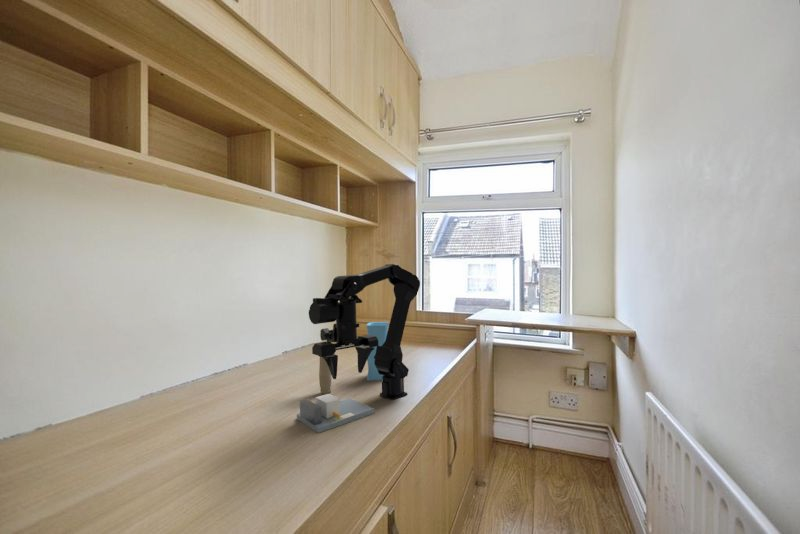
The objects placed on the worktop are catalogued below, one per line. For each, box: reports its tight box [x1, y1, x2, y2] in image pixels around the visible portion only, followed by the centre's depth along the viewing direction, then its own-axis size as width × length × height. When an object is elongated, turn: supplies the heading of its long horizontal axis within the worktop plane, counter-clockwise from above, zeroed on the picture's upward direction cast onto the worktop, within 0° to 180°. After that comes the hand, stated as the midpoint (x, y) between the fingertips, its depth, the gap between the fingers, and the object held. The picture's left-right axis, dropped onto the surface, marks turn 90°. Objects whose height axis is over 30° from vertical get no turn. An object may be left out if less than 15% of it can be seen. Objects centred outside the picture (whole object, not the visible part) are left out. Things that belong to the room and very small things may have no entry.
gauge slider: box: [315, 393, 341, 418], centre depth 91 cm, size 4×9×4 cm, turn 42°
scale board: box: [296, 397, 375, 434], centre depth 93 cm, size 17×12×2 cm
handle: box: [318, 356, 332, 395], centre depth 113 cm, size 5×6×15 cm
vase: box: [365, 321, 390, 381], centre depth 129 cm, size 8×8×20 cm
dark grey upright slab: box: [299, 398, 322, 425], centre depth 88 cm, size 2×8×4 cm, turn 42°
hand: (347, 375), depth 96 cm, fingers open, 8 cm apart
